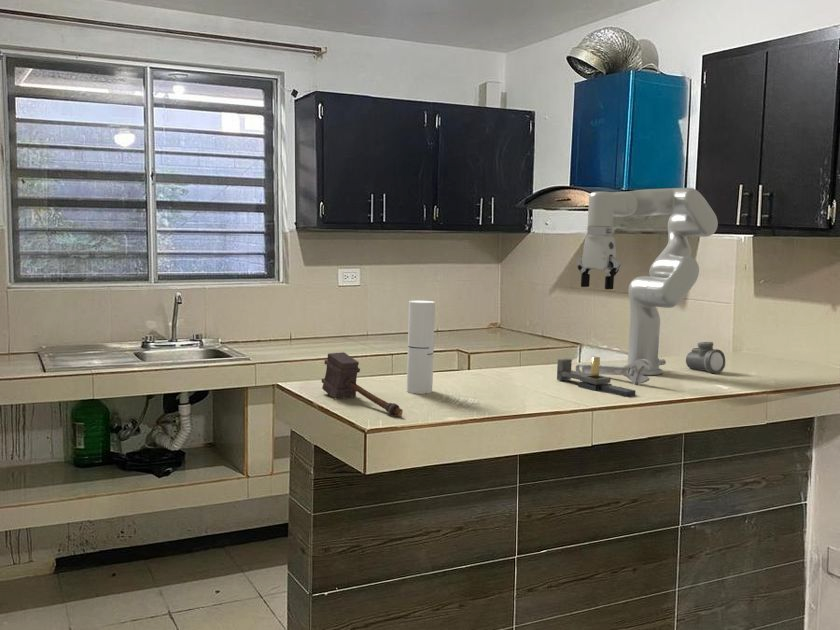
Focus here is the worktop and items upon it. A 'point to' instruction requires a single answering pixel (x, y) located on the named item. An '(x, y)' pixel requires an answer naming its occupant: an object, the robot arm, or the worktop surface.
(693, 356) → the pipe fitting
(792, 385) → the worktop surface
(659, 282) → the robot arm
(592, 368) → the pin
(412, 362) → the cylindrical container
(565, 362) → the chain end
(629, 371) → the wrench
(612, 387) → the bar
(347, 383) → the hammer
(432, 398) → the worktop surface
